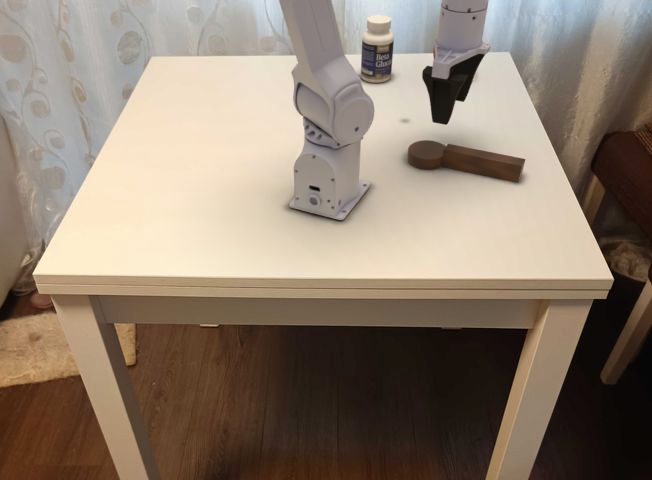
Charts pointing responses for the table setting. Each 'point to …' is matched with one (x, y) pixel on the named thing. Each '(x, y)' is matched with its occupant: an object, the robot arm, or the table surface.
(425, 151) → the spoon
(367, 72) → the pill bottle
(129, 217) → the table surface
